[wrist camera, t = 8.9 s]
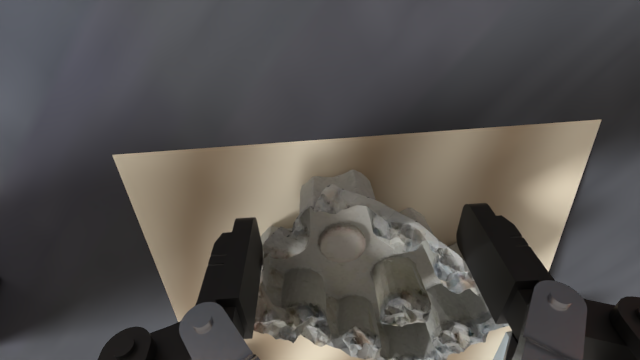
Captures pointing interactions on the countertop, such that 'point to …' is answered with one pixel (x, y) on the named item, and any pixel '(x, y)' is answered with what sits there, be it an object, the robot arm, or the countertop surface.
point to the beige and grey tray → (388, 187)
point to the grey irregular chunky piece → (367, 279)
